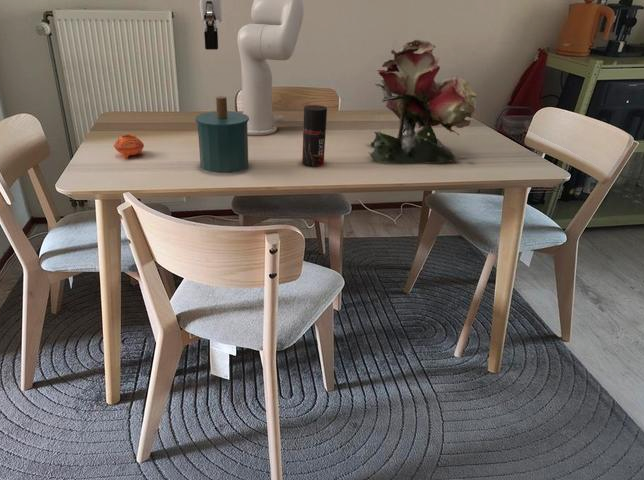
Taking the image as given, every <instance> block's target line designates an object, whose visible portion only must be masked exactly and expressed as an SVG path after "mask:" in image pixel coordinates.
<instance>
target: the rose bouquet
mask: <svg viewBox="0 0 644 480" xmlns="http://www.w3.org/2000/svg"><path fill="white" fill-rule="evenodd" d="M435 48H436V45H435V44H432V43H431V41H430V40H427V39H425V40H423V39H421V40H420V39H417V38H416V39H414V40H412V41H408V42H406V43H405V44H402V45H401V47H400V50H399V51H398V52H396V51H395V49H392V50H390V53H391V54H392V55H393V59H389V60H387V61H384V62H383V64H382V65H381V66H382V68H386V70H385V69H377V70H376V72H377V73H378V75H379V76H380V77H381V78H382V79H381V80H380V82H381V83H382V84H380V83H375V84H374V85H375V86H376V87H377V89H379V90H382V93H383V98H382V99H381V103H384V102H385V103H386V105H385V107H386V108H387V109H388V110H390V111H391V112H392V113H393V114H394V115H395V116H396V117H397V118H398V119H399V127H398V134H397V136H396V137H395V136H392V135H390V134H386V133H384V132H381V131H377V132H376V131H375V132H374V134H375V137H374V140H373V141H370V147H374V150H373V151H371V152H370V151H367V152H368V155H369V156H370V158H371V159H372V160H371V161H372V162H374V163H380V164H390V165H391V164H395V165H404V164H405V165H406V164H407V165H409V164H410V165H411V164H416V165H418V164H420V163H428V164H429V163H431V164H446V163H447V162H454V163H458V161H457V160H456V159H457V157H456V156H455V155H454V154H453V152H451V151H450V149H448V148H447V146H445V145H444V143H443V142H442V141H441V140H440V139H439V138H438V137H437V135H436V133H435V132H434V129H433V127H437V126H440V125H441V126H442V127H443V128H444V129H446V130H447V131H448V132H449V133H454V134H456V135H457V136H460V134H459V133H458V132H456V131H455V130H453V129H452V127H456V129H463V128H464V127H469V126H470V125H471V120H470V119H472V118H473V114H474V112H475V111H476V109H477V101H476V98H477V97H478V95H477V93H476V92H475V91H473V90H472V88H471V83H470V82H468V81H467V80H465V79H464V78H463V77H461V76H457V75H453V76H449V77H446V78H443V80H441V81H440V82H436V81H435V78H436V76H437V74H438V73H439V71H440V69H441V67H440V66H439V65H438V63H439V62H440V57H438V56H434V55H433V54H434V53H433V51H434V49H435ZM379 114H380V113H378V115H379ZM467 118H469V120H467ZM416 126H418V130H417V131H415V128H416ZM404 133H405V134H404Z"/></svg>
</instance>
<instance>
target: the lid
mask: <svg viewBox="0 0 644 480" xmlns="http://www.w3.org/2000/svg"><path fill="white" fill-rule="evenodd" d="M227 99H228V98H227V96H223V95H219V96H216V97H215V101H216V102H215V103H216V105H215V106H216V111H208V112H203V113H200V114H197V115H196V116H195V122H196V124H198V123H199V124H202V125H207V126H216V127H226V126H236V125H241V124H244V123H246V122H248V121H249V117H248V116H247V115H245V114H243V112H238V111H228V102H227V101H228V100H227Z"/></svg>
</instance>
